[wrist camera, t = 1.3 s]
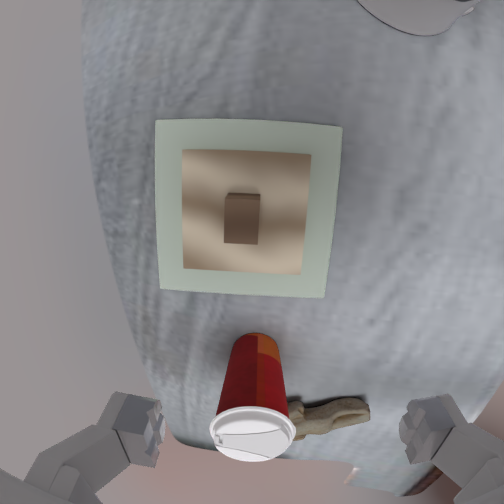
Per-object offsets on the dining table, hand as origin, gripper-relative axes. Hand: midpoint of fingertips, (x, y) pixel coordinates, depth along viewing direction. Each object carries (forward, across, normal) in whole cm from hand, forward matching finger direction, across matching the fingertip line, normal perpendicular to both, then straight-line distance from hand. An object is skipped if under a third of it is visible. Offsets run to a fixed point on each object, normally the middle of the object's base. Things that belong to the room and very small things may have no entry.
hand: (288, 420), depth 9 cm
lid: (+24, +3, -1) cm, 24 cm away
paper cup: (+25, +1, +16) cm, 29 cm away
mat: (+24, +3, -1) cm, 24 cm away
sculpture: (+25, -8, +26) cm, 37 cm away
